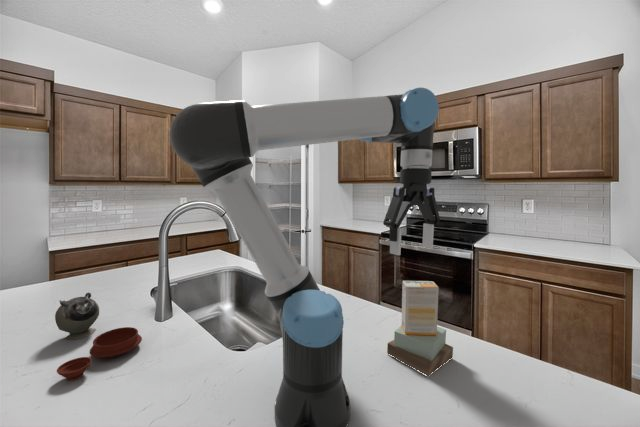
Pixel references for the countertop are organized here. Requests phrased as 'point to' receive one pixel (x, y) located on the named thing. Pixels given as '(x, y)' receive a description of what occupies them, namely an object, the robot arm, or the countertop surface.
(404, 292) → the supplement box
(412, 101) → the robot arm
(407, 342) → the tower top block
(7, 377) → the countertop surface
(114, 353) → the pottery
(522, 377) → the countertop surface
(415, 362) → the tower base block
